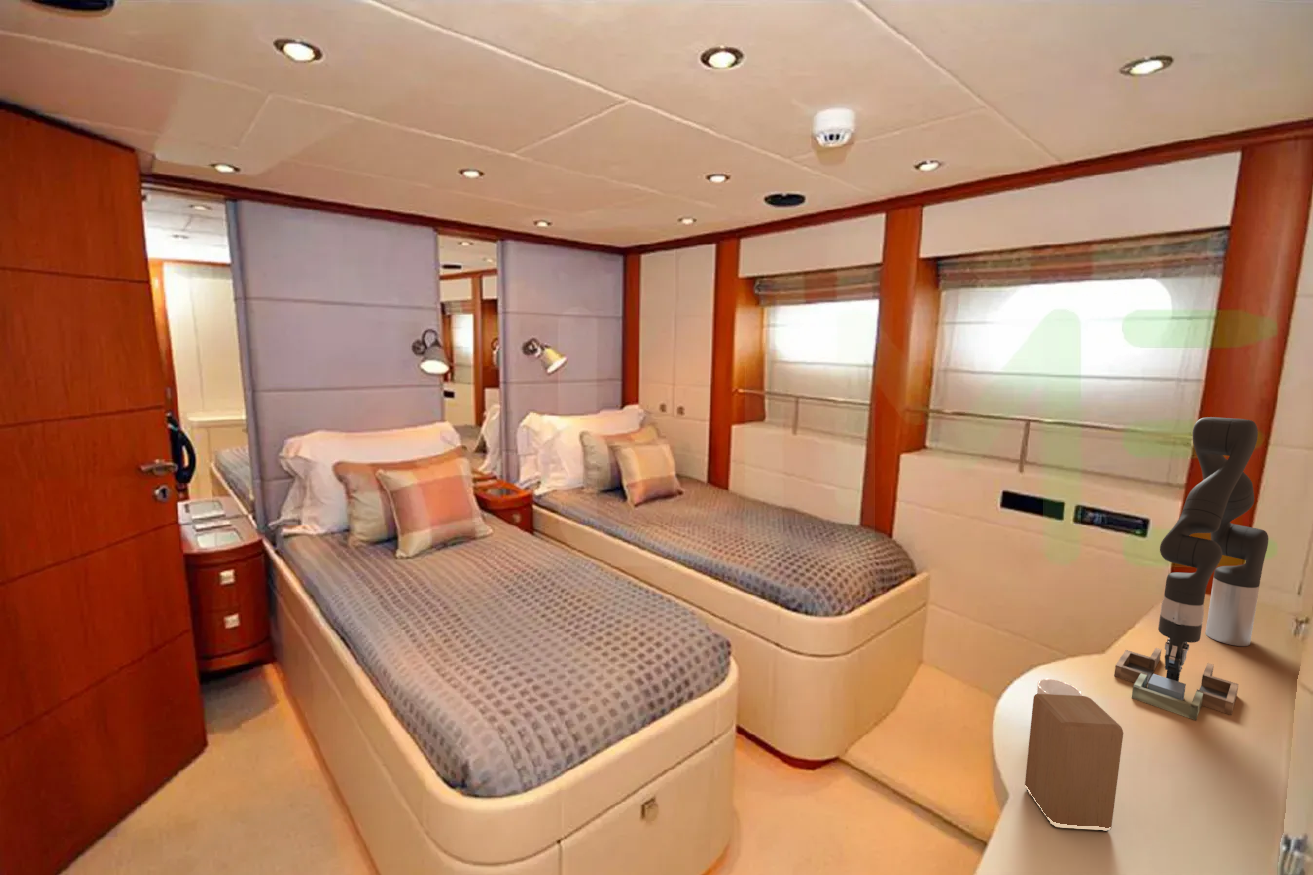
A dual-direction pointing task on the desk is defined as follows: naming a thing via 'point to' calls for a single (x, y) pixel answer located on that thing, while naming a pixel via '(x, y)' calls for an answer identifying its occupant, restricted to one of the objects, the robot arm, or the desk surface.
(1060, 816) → the wooden block
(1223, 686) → the box
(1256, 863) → the desk surface
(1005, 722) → the desk surface
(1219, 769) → the desk surface
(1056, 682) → the white cup
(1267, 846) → the desk surface
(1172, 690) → the slate block
